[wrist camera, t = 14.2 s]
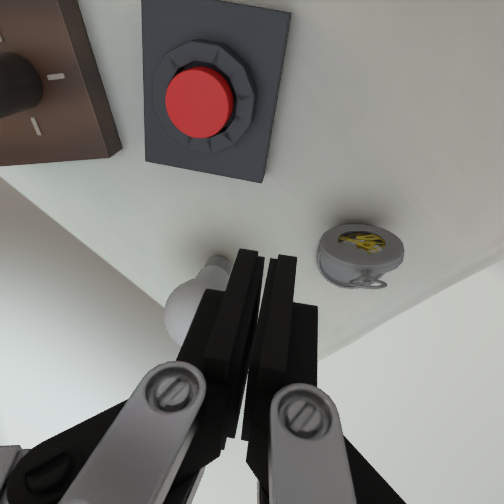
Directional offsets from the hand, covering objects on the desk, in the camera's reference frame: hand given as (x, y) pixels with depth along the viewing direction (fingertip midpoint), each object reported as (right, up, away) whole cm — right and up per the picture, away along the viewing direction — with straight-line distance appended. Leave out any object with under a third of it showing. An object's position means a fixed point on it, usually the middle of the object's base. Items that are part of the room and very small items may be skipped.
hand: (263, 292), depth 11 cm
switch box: (-3, +14, +18) cm, 23 cm away
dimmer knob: (-19, +14, +18) cm, 29 cm away
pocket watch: (+9, +2, +24) cm, 26 cm away
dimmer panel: (-18, +16, +20) cm, 31 cm away
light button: (-4, +12, +15) cm, 20 cm away
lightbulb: (-4, 0, +28) cm, 28 cm away
